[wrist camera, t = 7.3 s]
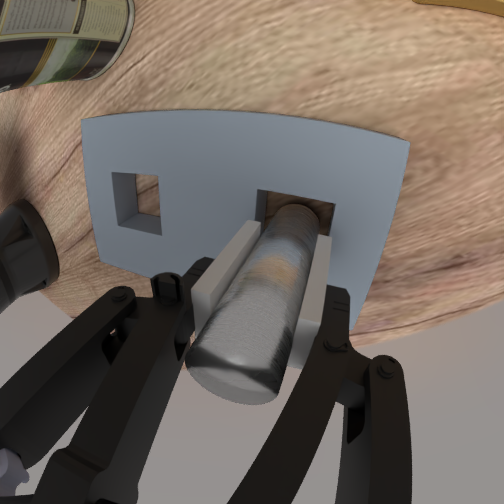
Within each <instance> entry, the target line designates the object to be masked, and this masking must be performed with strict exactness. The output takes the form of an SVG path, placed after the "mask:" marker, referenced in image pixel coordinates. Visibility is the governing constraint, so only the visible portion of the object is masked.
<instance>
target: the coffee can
mask: <svg viewBox="0 0 504 504" xmlns="http://www.w3.org/2000/svg"><path fill="white" fill-rule="evenodd" d="M134 15H135V9H134V3H133V1H132V0H0V93H1V92H5V91H9V90H14V89H18V88H23V87H28V86H34V85H40V84H46V83H54V82H62V81H74V80H90V79H93V78H96V77H98V76H100V75H101V74H103V73H104V72H105V71H106V70H107V69H108V68H110V67H111V65H112V64H113V63H114V62H115V61H116V60H117V58H118V57H119V55H120V54H121V52H122V51H123V49H124V47H125V45H126V43H127V41H128V39H129V37H130V34H131V31H132V27H133V23H134Z"/></svg>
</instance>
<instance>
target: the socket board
mask: <svg viewBox="0 0 504 504" xmlns="http://www.w3.org/2000/svg"><path fill="white" fill-rule="evenodd" d="M81 131H82V148H83V160H84V171H85V179H86V187H87V195H88V201H89V208H90V214H91V219H92V225H93V230H94V235H95V240H96V244H97V249H98V253H99V257H100V261H101V262H104V263H107V264H109V265H112V266H115V267H118V268H121V269H124V270H127V271H130V272H133V273H136V274H139V275H142V276H145V277H148V278H152V277H153V276H155V275H157V274H159V273H164V272H173V273H176V274H179V275H180V276H181V277H182V276H183V275H184V274H185V273H186V272H187V270H188V269H189V268H191V266H192V265H193V264H194V263H195V262H196V261H197V260H199V259H201V258H203V257H209V258H213V259H216V258H217V256H218V255H219V254H220V253H221V251H222V250H223V249H224V248H225V247H226V245H227V244H228V243H229V242H230V241H231V239H232V238H233V237H234V236H235V235H236V233H237V232H238V231H239V230H240V229H241V227H242V226H243V225H244V224H245V223H246V221H247V220H252V221H257V222H261V229H260V237H261V236H262V234H263V231H264V222H265V212H266V202H267V192H268V191H273V192H279V193H284V194H290V195H295V196H300V197H305V198H310V199H315V200H320V201H325V202H330V203H334V206H333V211H332V216H331V221H330V225H329V230H328V235H327V236H329V237H332V244H331V253H330V262H329V270H328V278H327V284H328V285H332V286H336V287H341V288H345V289H347V291H348V293H349V295H350V324H349V330H353V327H354V325H355V323H356V320H357V318H358V316H359V313H360V311H361V309H362V306H363V304H364V301H365V299H366V296H367V294H368V291H369V288H370V286H371V283H372V280H373V278H374V275H375V272H376V269H377V267H378V264H379V261H380V258H381V255H382V252H383V249H384V246H385V243H386V240H387V236H388V233H389V230H390V226H391V223H392V220H393V216H394V212H395V209H396V205H397V201H398V197H399V194H400V190H401V185H402V181H403V177H404V172H405V168H406V163H407V158H408V153H409V148H410V142H408V141H406V140H404V139H401V138H399V137H395V136H392V135H388V134H384V133H380V132H377V131H372V130H368V129H364V128H360V127H355V126H350V125H346V124H341V123H336V122H330V121H325V120H319V119H312V118H306V117H299V116H291V115H283V114H274V113H264V112H252V111H237V110H211V109H180V110H154V111H139V112H128V113H118V114H109V115H102V116H97V117H92V118H86V119H82V120H81ZM135 174H145V175H155V176H158V181H159V200H160V215H161V217H158V216H153V215H148V214H142V213H138V205H137V194H136V181H135Z"/></svg>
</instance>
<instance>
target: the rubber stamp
mask: <svg viewBox="0 0 504 504" xmlns="http://www.w3.org/2000/svg"><path fill="white" fill-rule="evenodd" d="M412 1H413V2H416V3H420V4H435V5H445V6H453V7H460V8H466V9H472V10H477V11H482V12H487V13H491V14H495V15H499V16H503V17H504V0H412Z"/></svg>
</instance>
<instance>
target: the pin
mask: <svg viewBox="0 0 504 504" xmlns="http://www.w3.org/2000/svg"><path fill="white" fill-rule="evenodd" d="M319 232H320V224H319V220H318V218H317V216H316V215H315V213H314V212H313V211H312V210H311V209H309V208H308V207H306V206H303V205H300V204H289V205H286V206H283V207H282V208H280V209H279V210H278V211H277V212H276V214H275V215H274V217H273V218H272V220H271V221H270V223H269V225H268V226H267V228H266V229H265V231H264V232H263V234H262V236H261V237H260V239H259V240H258V242H257V243H256V245H255V247H254V248H253V250H252V251H251V253H250V254H249V256H248V258H247V259H246V261H245V262H244V264H243V265H242V267H241V268H240V270H239V272H238V273H237V275H236V276H235V278H234V279H233V281H232V283H231V284H230V286H229V287H228V289H227V290H226V292H225V294H224V295H223V297H222V298H221V300H220V301H219V303H218V305H217V306H216V308H215V309H214V311H213V312H212V314H211V316H210V317H209V319H208V320H207V322H206V323H205V325H204V327H203V328H202V330H201V331H200V333H199V334H198V336H197V338H196V339H195V341H194V342H193V344H192V345H191V347H190V349H189V350H188V352H187V353H186V356H185V364H186V367H187V370H188V371H189V373H190V375H191V376H192V377H193V378H194V379H195V380H196V381H197V382H198V383H199V384H200V385H201V386H202V387H204V388H205V389H206V390H208V391H210V392H211V393H213V394H215V395H217V396H219V397H221V398H223V399H226V400H229V401H232V402H235V403H240V404H248V405H259V404H265V403H268V402H270V401H272V400H274V399H275V398H276V397H277V395H278V393H279V390H280V387H281V384H282V381H283V377H284V374H285V370H286V367H287V364H288V360H289V357H290V353H291V349H292V346H293V338H294V334H295V330H296V326H297V322H298V319H299V315H300V311H301V307H302V303H303V299H304V295H305V291H306V287H307V283H308V278H309V274H310V270H311V266H312V261H313V257H314V252H315V248H316V243H317V238H318V234H319Z"/></svg>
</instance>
